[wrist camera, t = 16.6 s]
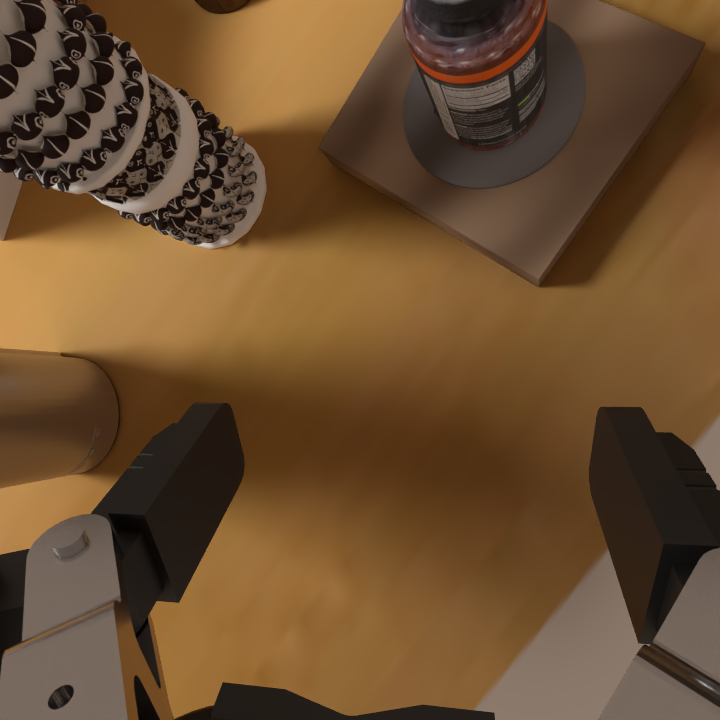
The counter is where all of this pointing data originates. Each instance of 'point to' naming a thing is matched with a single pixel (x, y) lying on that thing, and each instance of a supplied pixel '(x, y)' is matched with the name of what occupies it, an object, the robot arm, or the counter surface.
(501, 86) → the supplement bottle
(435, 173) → the base board
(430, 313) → the counter surface
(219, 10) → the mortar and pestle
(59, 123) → the decorative candle
